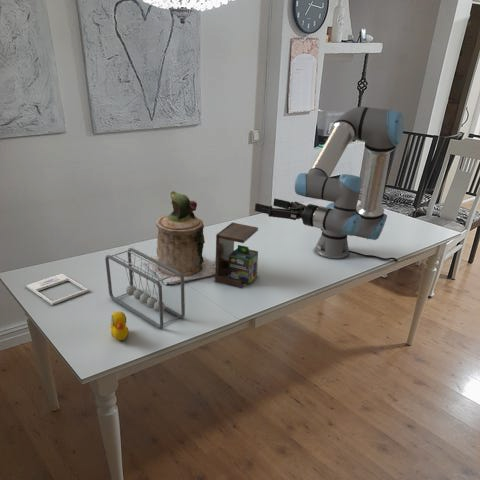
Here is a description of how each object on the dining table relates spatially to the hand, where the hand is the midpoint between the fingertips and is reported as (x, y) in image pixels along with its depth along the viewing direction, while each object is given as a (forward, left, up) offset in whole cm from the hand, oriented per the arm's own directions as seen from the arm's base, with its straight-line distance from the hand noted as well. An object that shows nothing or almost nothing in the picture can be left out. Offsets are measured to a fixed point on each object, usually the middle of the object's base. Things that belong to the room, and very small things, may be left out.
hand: (265, 204), depth 174 cm
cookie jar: (+33, -4, -31) cm, 45 cm away
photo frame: (+75, +21, -31) cm, 84 cm away
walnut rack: (+10, +1, -31) cm, 32 cm away
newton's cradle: (+40, +30, -31) cm, 59 cm away
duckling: (+44, +49, -31) cm, 73 cm away
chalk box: (+7, +2, -31) cm, 32 cm away
